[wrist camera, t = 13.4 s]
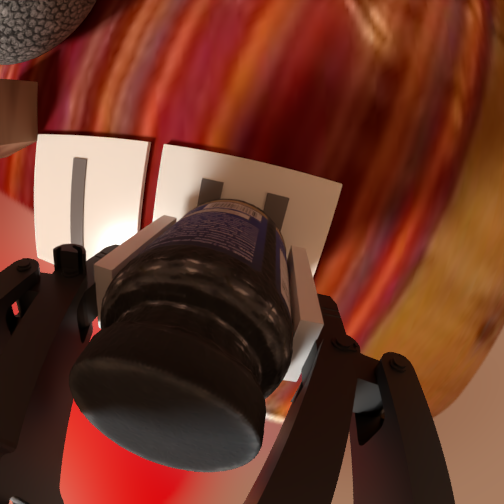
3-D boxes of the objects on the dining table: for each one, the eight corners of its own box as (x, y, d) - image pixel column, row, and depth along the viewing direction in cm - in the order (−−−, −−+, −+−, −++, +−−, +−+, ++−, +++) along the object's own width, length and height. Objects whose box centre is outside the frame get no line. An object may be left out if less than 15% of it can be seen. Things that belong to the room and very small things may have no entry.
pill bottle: (156, 250, 15) (29, 384, 5) (226, 171, 14) (86, 246, 3) (233, 318, 17) (190, 490, 6) (310, 254, 15) (354, 444, 4)
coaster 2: (149, 294, 18) (146, 297, 18) (166, 144, 14) (163, 143, 14) (291, 330, 18) (292, 334, 18) (340, 183, 14) (343, 184, 14)
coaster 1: (40, 255, 18) (36, 258, 18) (41, 134, 14) (37, 134, 14) (136, 290, 18) (133, 293, 18) (151, 141, 14) (147, 141, 14)
